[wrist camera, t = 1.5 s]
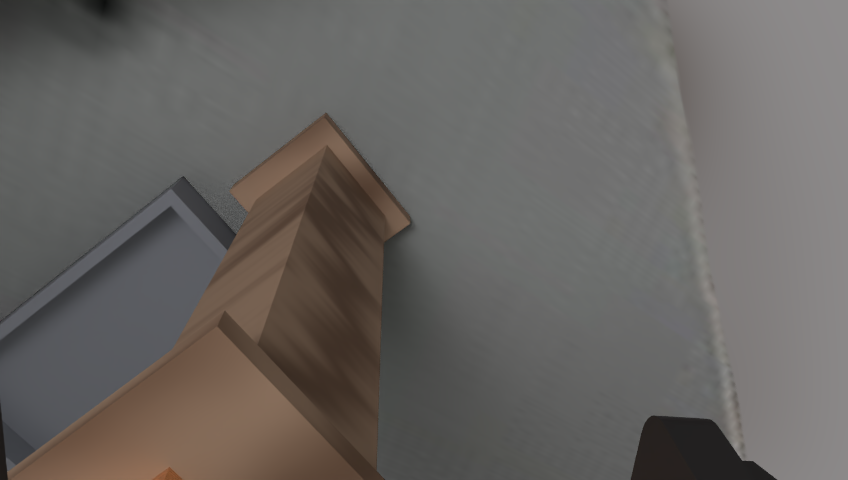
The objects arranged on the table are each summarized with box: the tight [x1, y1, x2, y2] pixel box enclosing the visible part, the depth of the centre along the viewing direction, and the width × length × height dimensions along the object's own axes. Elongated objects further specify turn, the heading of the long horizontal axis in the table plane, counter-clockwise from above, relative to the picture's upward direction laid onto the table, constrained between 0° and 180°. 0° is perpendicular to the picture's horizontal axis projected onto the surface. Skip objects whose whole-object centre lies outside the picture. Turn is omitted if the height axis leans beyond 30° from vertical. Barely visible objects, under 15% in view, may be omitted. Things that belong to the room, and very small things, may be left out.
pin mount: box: [7, 113, 410, 480], centre depth 38 cm, size 10×12×32 cm
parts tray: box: [0, 177, 236, 471], centre depth 55 cm, size 14×24×3 cm, turn 127°
